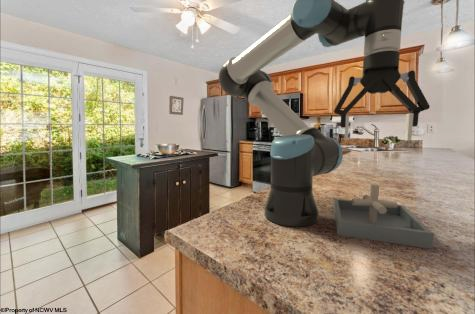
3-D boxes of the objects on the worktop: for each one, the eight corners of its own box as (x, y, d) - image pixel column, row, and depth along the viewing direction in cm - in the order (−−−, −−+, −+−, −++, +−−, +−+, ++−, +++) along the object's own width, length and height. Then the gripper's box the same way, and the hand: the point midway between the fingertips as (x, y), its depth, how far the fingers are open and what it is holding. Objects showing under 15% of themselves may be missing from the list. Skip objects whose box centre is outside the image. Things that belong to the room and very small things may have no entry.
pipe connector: (404, 232, 51) (408, 190, 49) (358, 228, 53) (361, 188, 51) (384, 216, 60) (387, 181, 59) (346, 213, 62) (348, 179, 61)
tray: (337, 234, 51) (337, 221, 51) (333, 209, 68) (334, 198, 68) (432, 249, 45) (433, 233, 45) (402, 216, 62) (403, 205, 61)
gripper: (326, 57, 55) (323, 140, 58) (455, 39, 45) (444, 141, 48) (327, 65, 62) (324, 139, 65) (439, 51, 52) (430, 139, 54)
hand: (375, 140), depth 56 cm, fingers open, 13 cm apart
